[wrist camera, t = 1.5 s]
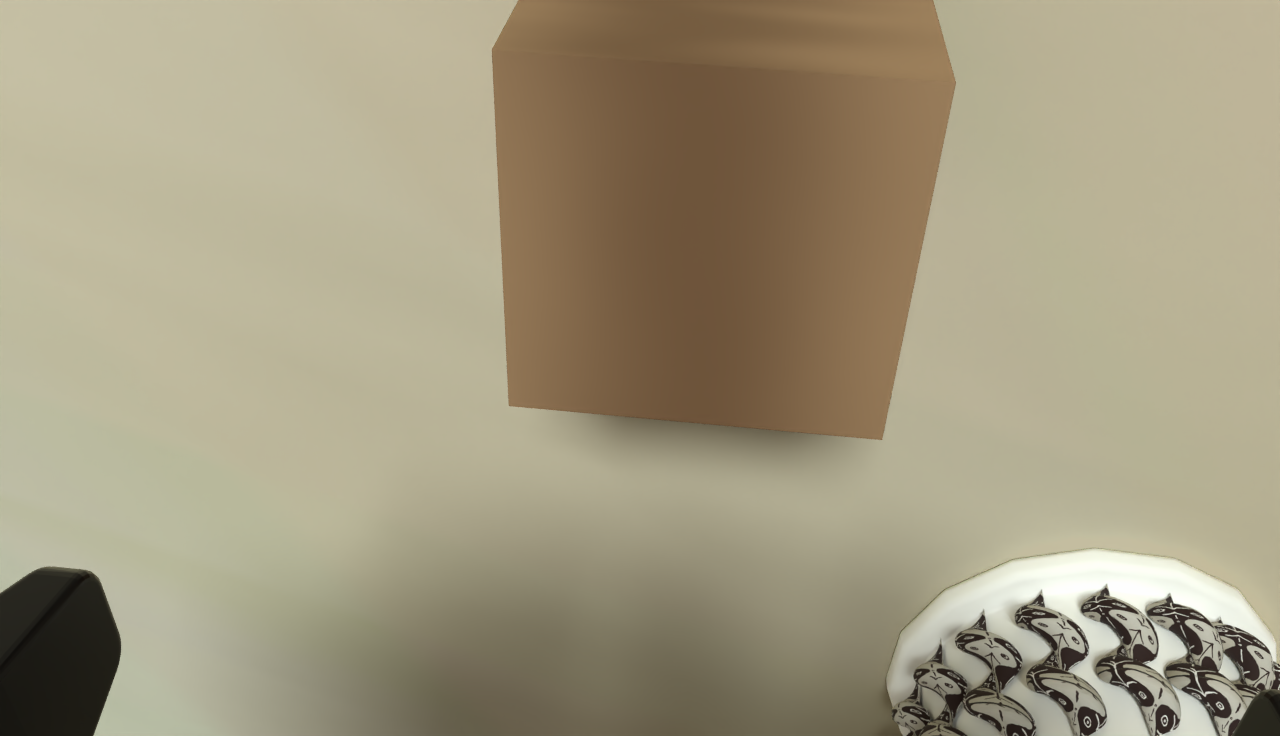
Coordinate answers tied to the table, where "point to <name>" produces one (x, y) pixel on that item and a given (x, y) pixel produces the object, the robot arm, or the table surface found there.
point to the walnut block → (716, 205)
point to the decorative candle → (1082, 651)
